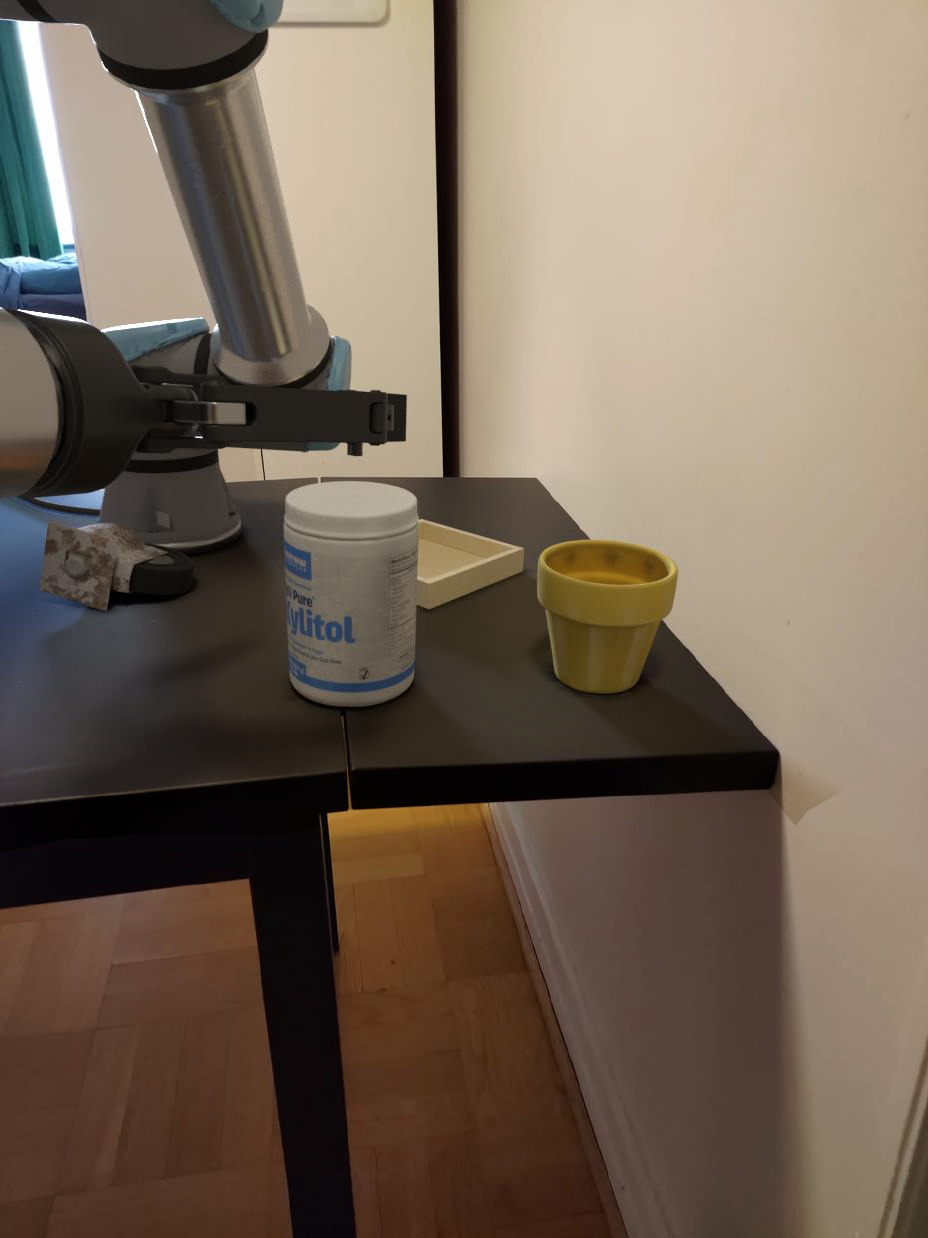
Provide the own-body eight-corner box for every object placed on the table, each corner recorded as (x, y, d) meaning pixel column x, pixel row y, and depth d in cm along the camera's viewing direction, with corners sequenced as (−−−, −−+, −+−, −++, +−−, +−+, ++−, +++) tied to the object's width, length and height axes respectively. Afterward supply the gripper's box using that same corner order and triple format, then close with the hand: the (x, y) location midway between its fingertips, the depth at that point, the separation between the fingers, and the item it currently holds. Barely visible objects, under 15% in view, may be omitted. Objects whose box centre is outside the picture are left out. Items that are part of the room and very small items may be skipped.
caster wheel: (201, 603, 85) (150, 628, 76) (98, 570, 86) (34, 591, 76) (213, 540, 83) (162, 557, 74) (108, 507, 84) (44, 520, 75)
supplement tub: (267, 699, 62) (253, 505, 57) (323, 648, 71) (316, 474, 65) (390, 722, 60) (389, 521, 54) (433, 666, 68) (436, 486, 62)
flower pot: (594, 721, 61) (608, 594, 57) (504, 667, 69) (511, 552, 65) (689, 685, 67) (707, 567, 63) (597, 638, 74) (608, 531, 70)
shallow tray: (325, 571, 88) (324, 547, 87) (421, 540, 98) (421, 518, 97) (429, 609, 79) (429, 583, 78) (523, 571, 89) (524, 548, 88)
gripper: (-178, 478, 40) (153, 462, 59) (258, 525, 30) (486, 488, 49) (-201, 309, 38) (148, 349, 57) (255, 302, 28) (492, 352, 47)
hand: (305, 413), depth 53 cm, fingers open, 13 cm apart
